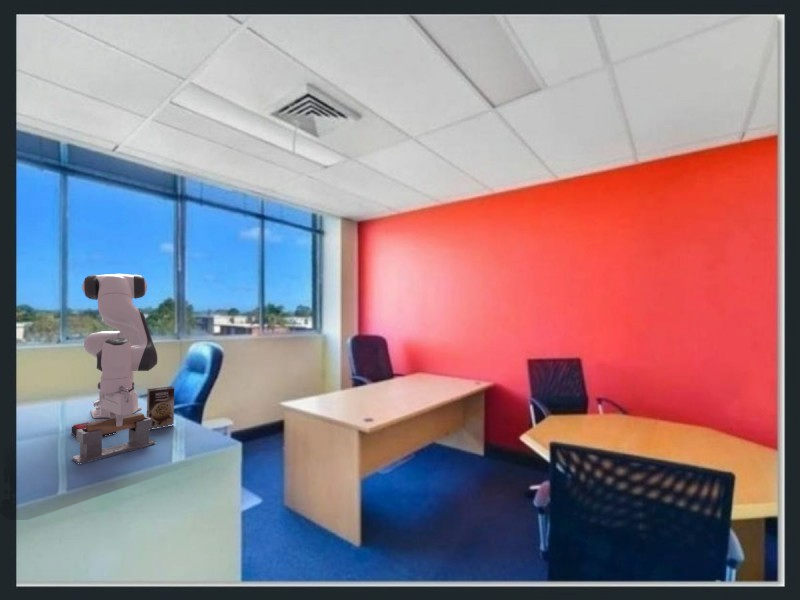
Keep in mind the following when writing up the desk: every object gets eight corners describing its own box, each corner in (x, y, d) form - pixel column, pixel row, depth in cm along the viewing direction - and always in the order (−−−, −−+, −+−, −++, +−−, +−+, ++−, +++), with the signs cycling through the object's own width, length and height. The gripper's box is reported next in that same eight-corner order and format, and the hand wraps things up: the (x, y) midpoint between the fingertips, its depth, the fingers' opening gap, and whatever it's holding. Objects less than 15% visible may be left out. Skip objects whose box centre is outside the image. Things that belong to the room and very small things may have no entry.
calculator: (105, 418, 159) (116, 423, 149) (105, 428, 158) (117, 434, 149) (71, 424, 150) (81, 430, 141) (71, 435, 150) (81, 442, 141)
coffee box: (148, 430, 152) (149, 391, 153) (146, 427, 157) (146, 388, 157) (174, 426, 158) (174, 388, 159) (171, 422, 163) (171, 385, 164)
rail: (85, 436, 125) (86, 424, 125) (140, 423, 138) (140, 413, 138) (88, 437, 124) (89, 425, 124) (143, 425, 137) (144, 414, 137)
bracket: (72, 459, 124) (72, 430, 124) (147, 440, 142) (147, 414, 142) (78, 464, 120) (79, 434, 120) (155, 444, 138) (155, 418, 138)
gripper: (139, 387, 128) (138, 428, 128) (116, 380, 140) (116, 417, 139) (117, 390, 123) (116, 433, 122) (95, 383, 134) (95, 421, 134)
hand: (116, 424), depth 131 cm, fingers closed on rail, 3 cm apart
